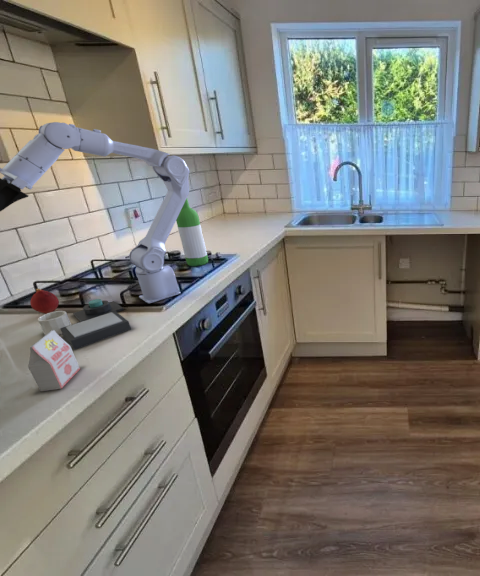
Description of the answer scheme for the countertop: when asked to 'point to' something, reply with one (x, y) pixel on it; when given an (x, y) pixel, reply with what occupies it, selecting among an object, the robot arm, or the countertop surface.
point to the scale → (95, 329)
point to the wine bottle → (191, 236)
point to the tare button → (95, 303)
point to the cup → (54, 321)
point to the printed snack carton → (52, 362)
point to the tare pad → (97, 310)
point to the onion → (44, 301)
